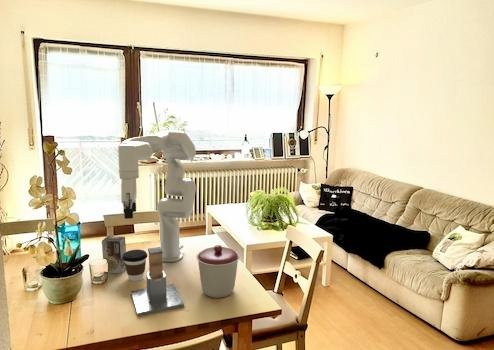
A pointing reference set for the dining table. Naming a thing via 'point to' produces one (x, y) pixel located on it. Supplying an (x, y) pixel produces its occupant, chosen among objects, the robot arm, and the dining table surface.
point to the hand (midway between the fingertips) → (130, 214)
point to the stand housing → (156, 296)
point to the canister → (218, 270)
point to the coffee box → (114, 253)
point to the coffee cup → (135, 264)
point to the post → (155, 262)
